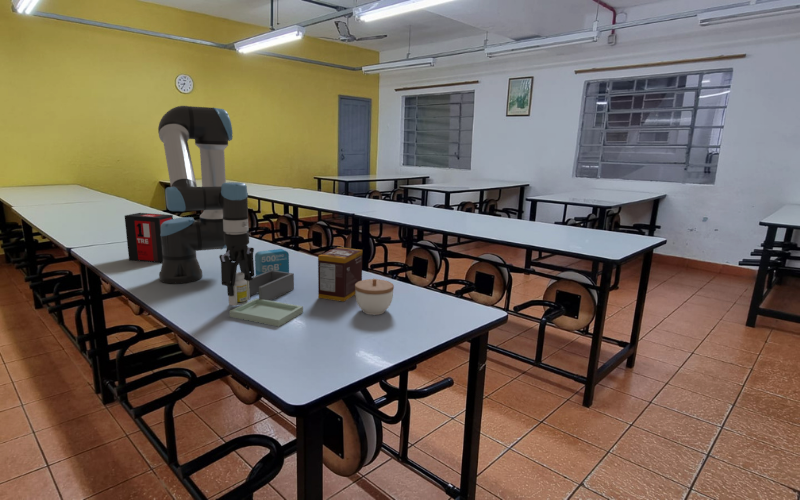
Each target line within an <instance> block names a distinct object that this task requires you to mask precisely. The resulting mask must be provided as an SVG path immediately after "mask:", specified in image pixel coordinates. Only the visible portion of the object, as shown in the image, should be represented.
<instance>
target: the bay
mask: <svg viewBox="0 0 800 500" xmlns="http://www.w3.org/2000/svg"><path fill="white" fill-rule="evenodd" d="M252 278H253V279H252V280H250V297H251V296H253V295H256V294H258V299H264V300H270V301H274V300H275V299H277V298H278V297H281V296H282V295H284V294H287V293H289V292H290V291H293V290H294V289H295V275H294V273H293V272H289V273H287V272H280V271H274V270H270V271H267V272H265V273H262V274H260V275H257V276H256V275H254V276H253V277H252Z"/></svg>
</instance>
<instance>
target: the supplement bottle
mask: <svg viewBox="0 0 800 500" xmlns="http://www.w3.org/2000/svg"><path fill="white" fill-rule="evenodd" d="M235 286H237V306H241V305H243V304H245V303H247V302H249V300H248V292H247V281H246V280H245V279H244V273H242V272H241V271H239V272H237V271H236V278H235Z"/></svg>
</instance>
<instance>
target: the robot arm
mask: <svg viewBox="0 0 800 500" xmlns="http://www.w3.org/2000/svg"><path fill="white" fill-rule="evenodd" d="M157 129H158V137H159V140H160V141H161V142H162V143H163V148H164V154H165V160H166V164H167V165H166V166H167V172H168V178H169V183H170V186H168V187H166V188H165V190H164V191H165V193H164V194H165V203H166V204H165V205H166V209H167V210H169V211H170V212H190V211H191V212H192V211H193V212H194V211H203V212H202V213H201V214H200V215H199V220H195V219H194V217H192V216H191V217H190V216H188V217H187V216H186V217H185V216H184V217H177V218H173V219H171V220H167V221H165V222H163V223H162V224H161V234H160V236H161V239H162V253H163V263H161V268H160V272H159V274H158V275H159V277H158V278H159V282H161V283H164V284H187V283H191V282H196V281H199V280H200V279H203V270H202V269H201V267H200V262H199V261H198V258H197V252H198V251H209V250H224V249H226V250H225V253H223V254H219V256H218V257H219V260H220V271H221V272H220V274H221V276H220V279H221V280H220V281H221V285H222V286H225V287H226V288H227V291H226V293H227V296H228V305H229V306H235V307H236V306H237V307H238V305H237V286H235V278H236V272H237V271H238V270H237V269H238V266H239V269H240V272H242V273H244V279H245V280H246V281H247V292H248V301H249V300H250V301H251V296H250V280H252V279H253V278H252V277H255V266H254V265H255V260H254V251H255V248H254V247H250V246H248V245H249V244H250V233H249V230H250V229H249V208H248V207H249V205H248V204H249V203H248V202H249V201H248V197H249V193H248V188H247V184H246V183H244V182H240V181H239V182H234V181H231V182H230V181H229V182H226V181H227V180H226V160H225V159H226V158H225V149H226V148H227V147H228V146H229V142H230V141H232V140H233V136H234V133H233V125H232V120H231V118H230V115H229V113H228V112H227V110H225V109H223V108H217V107H206V106H205V107H204V106H203V107H202V106H193V105H192V106H191V105H190V106H189V105H179V106H174V107H172V108H170V109H169V110H168V111H167V112H165V114H163V116H162V117H161V119H160V121H159V122H158V128H157ZM189 140H194V145H195V146H196V147H198V149H199V154H200V155H199V156H200V159H199V160H200V174H201V175H200V177H201V186H198V185H197V181H196V175H195V172H194V171H195V170H194V166H193V161H192V157H191V152H190V149H189V148H190V147H189V142H188V141H189Z"/></svg>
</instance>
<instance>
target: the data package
mask: <svg viewBox="0 0 800 500" xmlns="http://www.w3.org/2000/svg"><path fill="white" fill-rule="evenodd" d="M254 265H255V266H254V272H255V276H257V275H260V274H262V273H265V272H267V271H270V270H274V271H280V272H287V273H290V255H289V252H288V250H284V249H283V248H277V249H269V250H268V249H267V250H261V251H257V252H256V253H255V254H254Z"/></svg>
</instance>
